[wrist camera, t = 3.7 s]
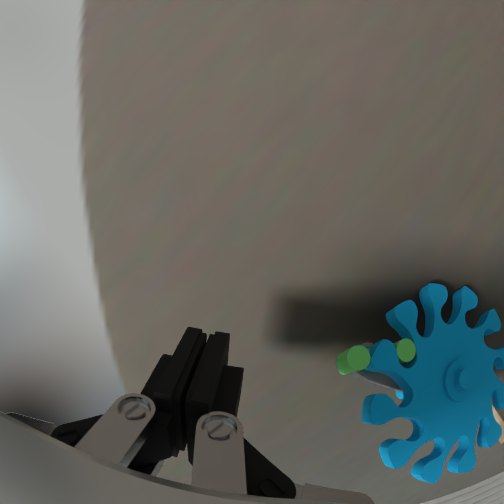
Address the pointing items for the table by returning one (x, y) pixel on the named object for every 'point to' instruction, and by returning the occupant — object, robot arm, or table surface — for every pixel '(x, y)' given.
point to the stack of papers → (477, 493)
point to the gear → (433, 382)
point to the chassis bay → (499, 419)
